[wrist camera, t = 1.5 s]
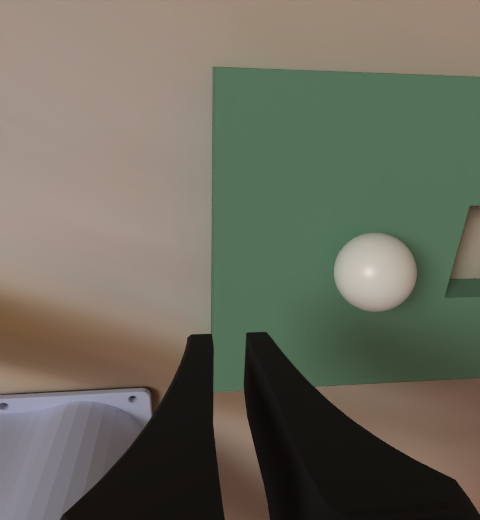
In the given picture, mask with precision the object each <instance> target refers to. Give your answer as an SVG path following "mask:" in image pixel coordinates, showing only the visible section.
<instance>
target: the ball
mask: <svg viewBox="0 0 480 520" xmlns="http://www.w3.org/2000/svg"><path fill="white" fill-rule="evenodd" d="M416 278H417V266H416V262H415V259H414V257H413V255H412V253H411V251H410V250H409V248H408V247H407V246H406V245H405V244H404V243H403V242H401V241H400V240H399V239H397V238H395V237H393V236H391V235H388V234H384V233H366V234H362V235H359V236H357V237H355V238H353V239H352V240H350V241H349V242H347V243H346V244H345V245H344V246H343V248H342V249H341V250H340V252H339V254H338V256H337V258H336V261H335V265H334V279H335V283H336V286H337V288H338V290H339V292H340V293H341V295H342V296H343V297H344V298H345V300H347V301H348V302H349V303H350V304H352V305H353V306H355V307H357V308H359V309H362V310H365V311H371V312H380V311H386V310H390V309H392V308H395V307H396V306H398V305H400V304H401V303H402V302H404V301H405V300H406V299H407V298H408V296H409V295H410V294H411V292H412V290H413V288H414V286H415V283H416Z"/></svg>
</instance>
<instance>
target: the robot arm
mask: <svg viewBox="0 0 480 520" xmlns="http://www.w3.org/2000/svg"><path fill="white" fill-rule="evenodd" d="M213 376H214V345H213V338H212V334H194V335H190V336H189V337H188V338H187V345H186V349H185V352H184V355H183V358H182V360H181V363H180V365H179V367H178V370H177V372H176V374H175V376H174V379H173V381H172V383H171V385H170V386H169V388H168V390H167V392H166V394H165V396H164V397H163V399H162V401H161V403H160V404H159V406H158V408H157V409H156V411H155V412H154V414H153V416H152V402H151V393H150V391H149V390H148V389H146V388H131V389H111V390H92V391H73V392H53V393H34V394H15V395H0V520H225V519H224V512H223V505H222V497H221V490H220V482H219V474H218V466H217V457H216V448H215V439H214V429H213ZM244 394H245V402H246V410H247V417H248V421H249V426H250V430H251V434H252V438H253V442H254V446H255V450H256V454H257V458H258V463H259V467H260V471H261V475H262V479H263V483H264V487H265V492H266V497H267V502H268V509H269V515H270V520H480V514H479V513H478V511H477V510H476V508H475V506H474V505H473V503H472V502H471V500H470V499H469V497H468V496H467V495H466V493H465V492H464V491H463V489H462V488H461V487H460V485H459V484H458V483H457V481H456V480H455V479H452V478H450V477H448V476H446V475H444V474H442V473H440V472H438V471H436V470H434V469H432V468H430V467H428V466H426V465H424V464H422V463H420V462H418V461H416V460H414V459H413V458H411V457H409V456H407V455H406V454H404V453H402V452H400V451H399V450H397V449H395V448H394V447H392V446H390V445H389V444H387V443H385V442H384V441H382V440H381V439H379V438H377V437H376V436H374V435H373V434H372V433H370V432H369V431H367V430H366V429H364V428H363V427H361V426H360V425H359V424H357V423H356V422H354V421H353V420H352V419H350V418H349V417H348V416H346V415H345V414H344V413H343V412H342V411H340V410H339V409H338V408H337V407H335V406H334V405H333V404H332V403H331V402H329V401H328V400H327V399H326V398H325V397H324V396H323V395H322V394H321V393H320V392H319V391H318V390H317V389H316V388H315V387H314V386H313V385H312V384H311V383H310V382H309V381H308V380H307V379H306V378H305V377H304V376H303V375H302V374H301V373H300V372H299V370H298V369H297V368H296V367H295V366H294V365H293V364H292V363H291V361H290V360H289V359H288V358H287V357H286V356H285V354H284V353H283V352H282V351H281V349H280V348H279V347H278V346H277V344H276V343H275V342H274V340H273V339H272V338H271V336H270V335H269V334H268V333H267V332H248V333H246V346H245V367H244ZM130 396H135V397H136V398H131V397H130ZM3 403H6V404H8V405H5V404H3Z"/></svg>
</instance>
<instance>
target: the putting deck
mask: <svg viewBox="0 0 480 520" xmlns="http://www.w3.org/2000/svg"><path fill="white" fill-rule="evenodd" d="M470 206H480V77H468V76H442V75H415V74H389V73H362V72H336V71H309V70H283V69H257V68H230V67H213V122H212V266H211V334H212V338H213V345H214V376H213V392H226V391H244V367H245V346H246V333H248V332H267V333H268V334H269V335H270V336H271V338H272V339H273V340H274V342H275V343H276V344H277V346H278V347H279V348H280V349H281V351H282V352H283V353H284V354H285V356H286V357H287V358H288V359H289V360H290V361H291V363H292V364H293V365H294V366H295V367H296V368H297V369H298V370H299V372H300V373H301V374H302V375H303V376H304V377H305V378H306V379H307V380H308V381H309V382H310V383H311V384H312V385H313V386H314V387H318V386H337V385H355V384H374V383H392V382H411V381H429V380H448V379H466V378H480V279H450V276H451V272H452V268H453V265H454V261H455V257H456V254H457V250H458V247H459V243H460V239H461V236H462V232H463V229H464V225H465V221H466V218H467V214H468V211H469V207H470ZM366 233H384V234H388V235H391V236H393V237H395V238H397V239H399V240H400V241H401V242H403V243H404V244H405V245H406V246H407V247H408V248H409V250H410V251H411V253H412V255H413V257H414V259H415V262H416V266H417V278H416V283H415V286H414V288H413V290H412V292H411V294H410V295H409V296H408V298H407V299H406V300H405V301H404V302H402V303H401V304H400V305H398V306H396V307H395V308H392V309H390V310H386V311H380V312H371V311H365V310H362V309H359V308H357V307H355V306H353V305H352V304H350V303H349V302H348V301H347V300H345V298H344V297H343V296H342V295H341V293H340V292H339V290H338V288H337V286H336V283H335V279H334V265H335V261H336V258H337V256H338V254H339V252H340V250H341V249H342V248H343V246H344V245H345V244H346V243H347V242H349V241H350V240H352V239H353V238H355V237H357V236H359V235H362V234H366ZM449 279H450V280H449Z"/></svg>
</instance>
